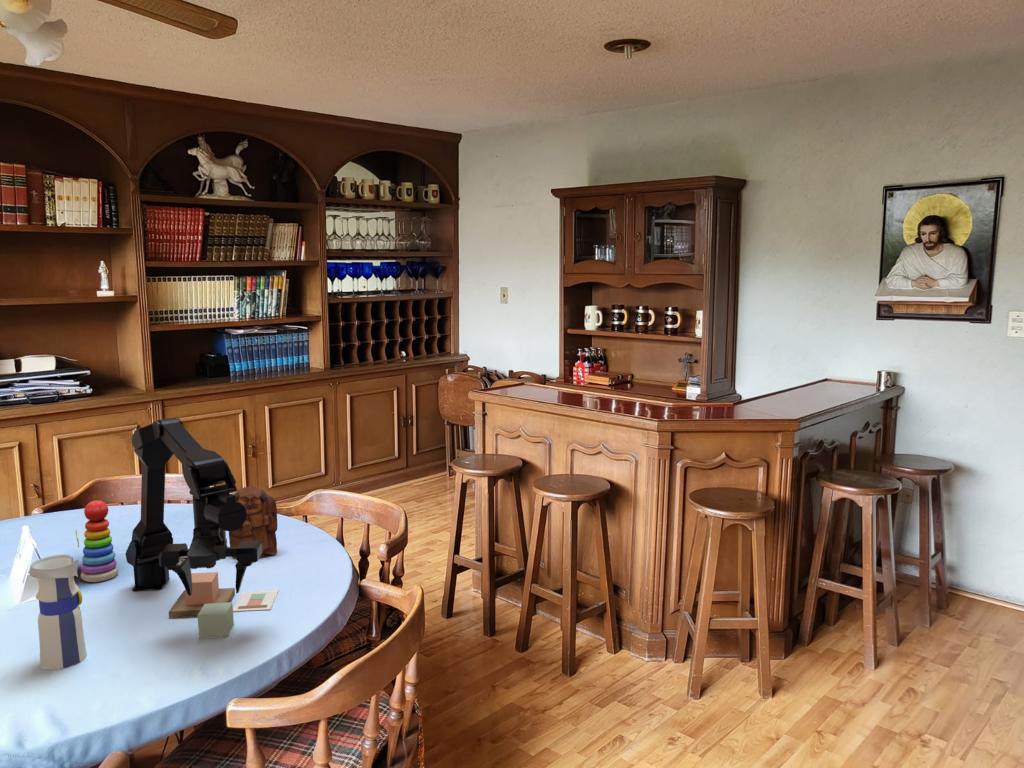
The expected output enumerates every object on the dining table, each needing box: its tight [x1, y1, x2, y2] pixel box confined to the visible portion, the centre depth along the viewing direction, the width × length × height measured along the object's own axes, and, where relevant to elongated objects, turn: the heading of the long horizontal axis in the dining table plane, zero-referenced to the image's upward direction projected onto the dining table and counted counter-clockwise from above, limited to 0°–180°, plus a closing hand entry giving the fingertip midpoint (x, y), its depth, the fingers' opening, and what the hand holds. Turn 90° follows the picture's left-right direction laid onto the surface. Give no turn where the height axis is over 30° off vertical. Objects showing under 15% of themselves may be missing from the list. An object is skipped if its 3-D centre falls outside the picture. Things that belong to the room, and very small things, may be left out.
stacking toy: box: [80, 499, 119, 583], centre depth 187 cm, size 8×8×19 cm
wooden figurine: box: [228, 485, 278, 559], centre depth 201 cm, size 12×6×18 cm, turn 112°
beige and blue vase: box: [29, 529, 88, 671], centre depth 147 cm, size 8×9×25 cm
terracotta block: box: [184, 571, 220, 605], centre depth 172 cm, size 6×6×5 cm
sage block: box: [197, 601, 235, 640], centre depth 160 cm, size 6×6×5 cm
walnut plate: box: [168, 587, 236, 619], centre depth 172 cm, size 11×11×2 cm
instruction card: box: [233, 589, 279, 613], centre depth 174 cm, size 8×10×1 cm
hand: (214, 593), depth 159 cm, fingers open, 9 cm apart
